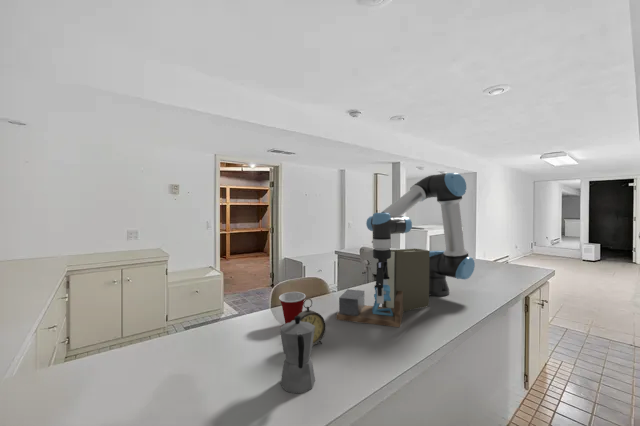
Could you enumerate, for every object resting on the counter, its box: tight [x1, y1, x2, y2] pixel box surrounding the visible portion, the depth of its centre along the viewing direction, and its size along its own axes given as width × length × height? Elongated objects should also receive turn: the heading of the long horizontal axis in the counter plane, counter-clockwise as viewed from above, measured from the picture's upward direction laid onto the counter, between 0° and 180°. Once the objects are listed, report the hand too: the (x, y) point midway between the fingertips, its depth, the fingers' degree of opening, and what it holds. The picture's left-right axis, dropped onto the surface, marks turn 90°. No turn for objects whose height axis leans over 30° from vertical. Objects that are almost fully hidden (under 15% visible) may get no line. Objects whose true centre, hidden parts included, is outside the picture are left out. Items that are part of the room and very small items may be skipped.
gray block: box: [338, 288, 365, 316], centre depth 131 cm, size 8×14×7 cm, turn 160°
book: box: [381, 248, 431, 313], centre depth 141 cm, size 22×9×28 cm, turn 118°
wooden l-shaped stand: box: [335, 291, 404, 328], centre depth 128 cm, size 26×16×10 cm, turn 70°
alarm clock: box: [297, 298, 327, 347], centre depth 101 cm, size 11×5×16 cm, turn 117°
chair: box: [372, 285, 393, 316], centre depth 127 cm, size 8×8×12 cm
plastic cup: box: [278, 291, 307, 324], centre depth 119 cm, size 11×11×12 cm
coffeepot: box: [279, 316, 316, 394], centre depth 78 cm, size 15×9×18 cm, turn 10°
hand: (382, 298), depth 127 cm, fingers open, 13 cm apart
